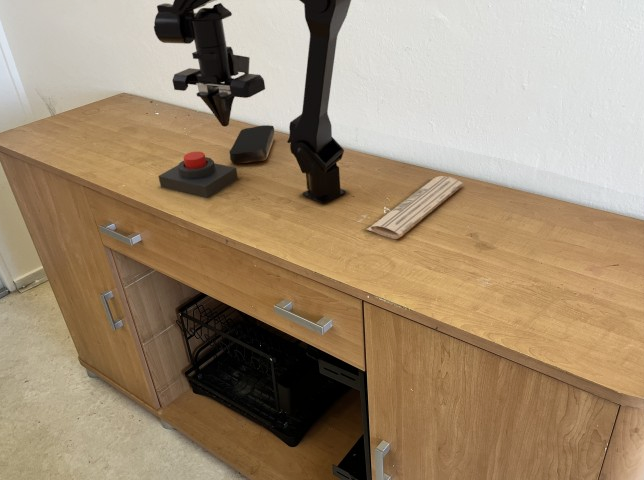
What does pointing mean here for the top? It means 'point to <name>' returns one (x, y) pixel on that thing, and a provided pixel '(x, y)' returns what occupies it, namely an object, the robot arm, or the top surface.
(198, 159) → the power button
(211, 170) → the grey button base
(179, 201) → the top surface
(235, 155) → the black sponge
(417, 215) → the newspaper
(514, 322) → the top surface
